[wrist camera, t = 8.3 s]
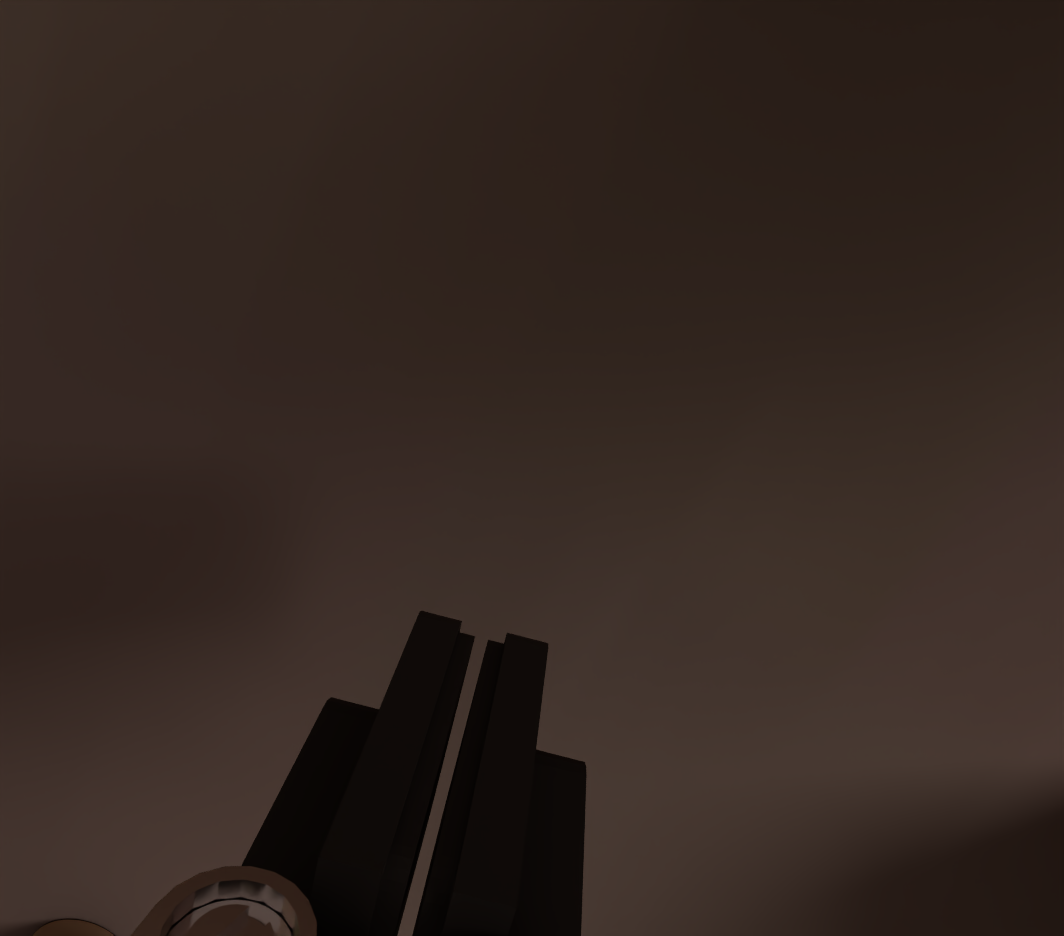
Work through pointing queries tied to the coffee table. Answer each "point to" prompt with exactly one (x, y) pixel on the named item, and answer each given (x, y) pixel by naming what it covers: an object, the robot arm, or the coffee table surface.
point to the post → (71, 929)
